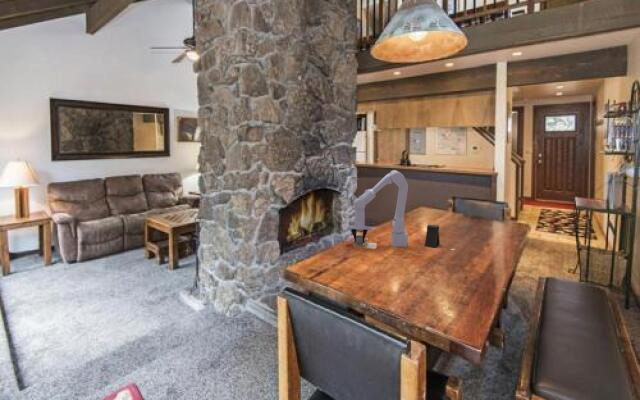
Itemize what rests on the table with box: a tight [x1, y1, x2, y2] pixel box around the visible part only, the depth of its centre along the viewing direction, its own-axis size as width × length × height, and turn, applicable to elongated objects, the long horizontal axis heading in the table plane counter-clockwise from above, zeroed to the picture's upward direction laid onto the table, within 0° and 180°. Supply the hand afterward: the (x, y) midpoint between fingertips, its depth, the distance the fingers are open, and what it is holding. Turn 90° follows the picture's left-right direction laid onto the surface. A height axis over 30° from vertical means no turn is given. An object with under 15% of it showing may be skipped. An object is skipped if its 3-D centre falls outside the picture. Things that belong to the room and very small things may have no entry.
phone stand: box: [424, 224, 441, 249], centre depth 211 cm, size 9×6×12 cm, turn 144°
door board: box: [352, 237, 378, 250], centre depth 210 cm, size 13×10×4 cm
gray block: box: [356, 234, 363, 245], centre depth 210 cm, size 4×4×4 cm
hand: (359, 242), depth 210 cm, fingers closed on gray block, 4 cm apart
